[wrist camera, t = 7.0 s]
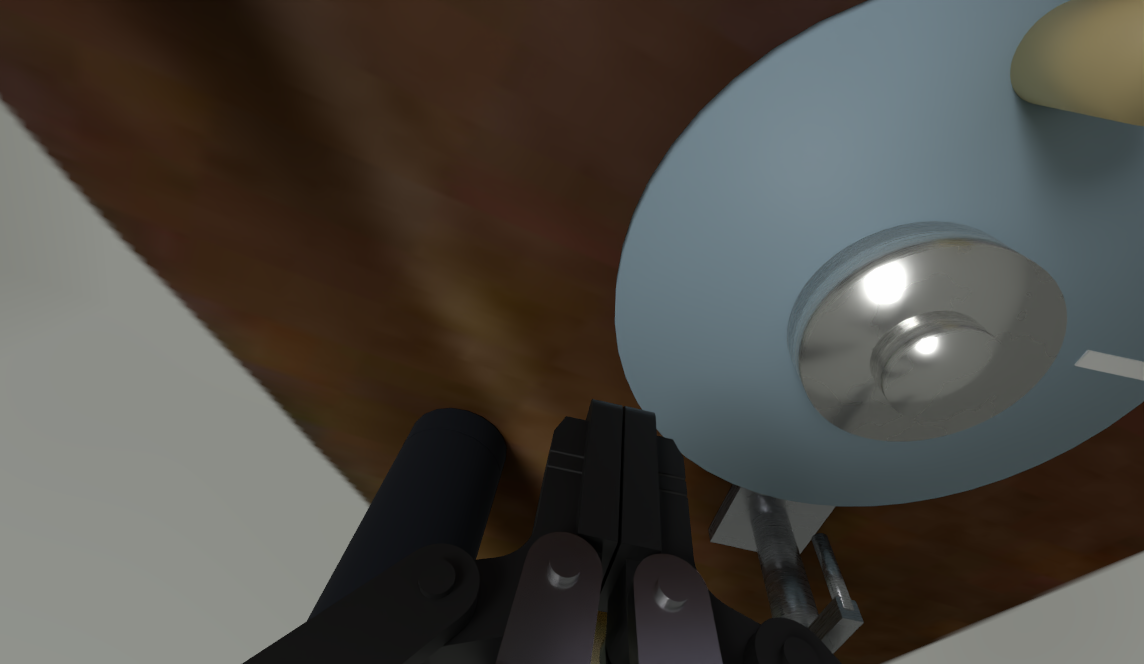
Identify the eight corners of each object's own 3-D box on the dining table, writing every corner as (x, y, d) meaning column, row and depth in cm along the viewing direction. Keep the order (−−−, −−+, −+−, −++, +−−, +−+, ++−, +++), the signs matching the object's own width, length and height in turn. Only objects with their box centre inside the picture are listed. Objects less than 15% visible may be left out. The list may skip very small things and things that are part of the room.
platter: (711, -100, 16) (741, -150, 11) (1438, 60, 16) (1763, 75, 11) (574, 435, 29) (562, 514, 24) (977, 521, 29) (1043, 616, 24)
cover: (852, 195, 19) (899, 233, 15) (1077, 254, 19) (1172, 304, 16) (753, 377, 24) (772, 437, 20) (933, 423, 24) (982, 489, 20)
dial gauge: (750, 452, 31) (832, 765, 18) (844, 473, 31) (995, 800, 18) (708, 528, 35) (751, 827, 22) (791, 547, 35) (883, 855, 22)
